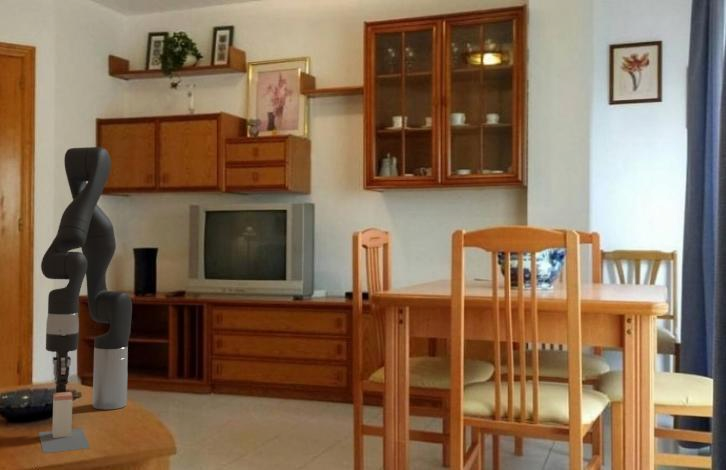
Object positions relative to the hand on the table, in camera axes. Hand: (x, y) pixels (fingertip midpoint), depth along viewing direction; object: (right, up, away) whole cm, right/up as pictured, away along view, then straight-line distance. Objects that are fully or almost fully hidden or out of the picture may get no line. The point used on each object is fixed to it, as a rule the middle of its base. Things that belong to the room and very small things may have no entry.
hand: (60, 400), depth 176 cm
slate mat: (+4, -8, -7) cm, 12 cm away
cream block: (+2, -8, -3) cm, 9 cm away
